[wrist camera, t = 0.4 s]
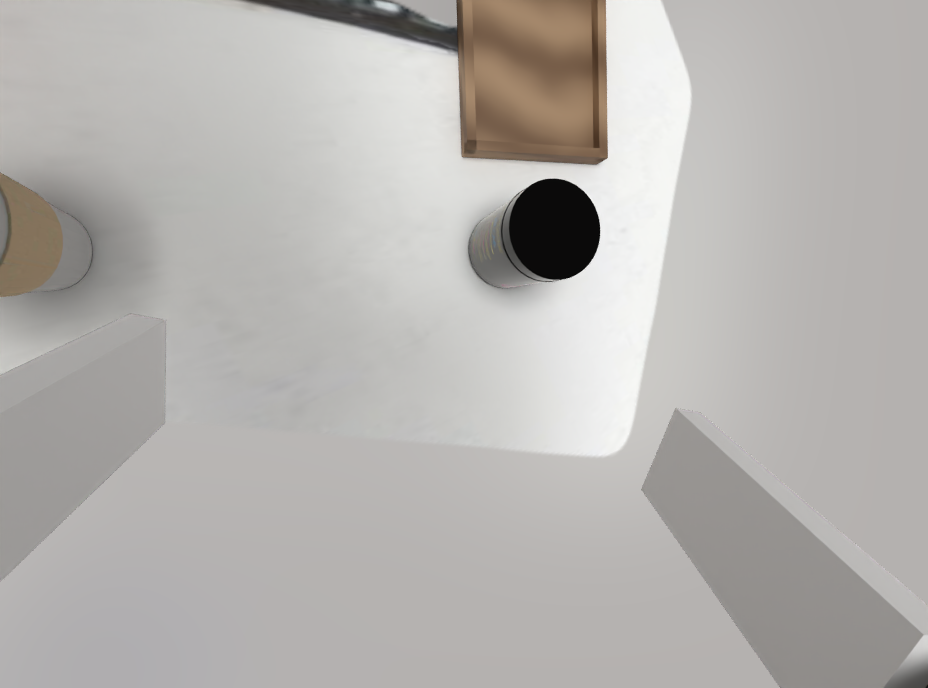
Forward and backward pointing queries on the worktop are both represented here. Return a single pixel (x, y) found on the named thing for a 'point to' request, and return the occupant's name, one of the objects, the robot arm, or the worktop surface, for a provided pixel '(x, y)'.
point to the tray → (533, 80)
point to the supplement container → (536, 236)
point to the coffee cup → (38, 243)
